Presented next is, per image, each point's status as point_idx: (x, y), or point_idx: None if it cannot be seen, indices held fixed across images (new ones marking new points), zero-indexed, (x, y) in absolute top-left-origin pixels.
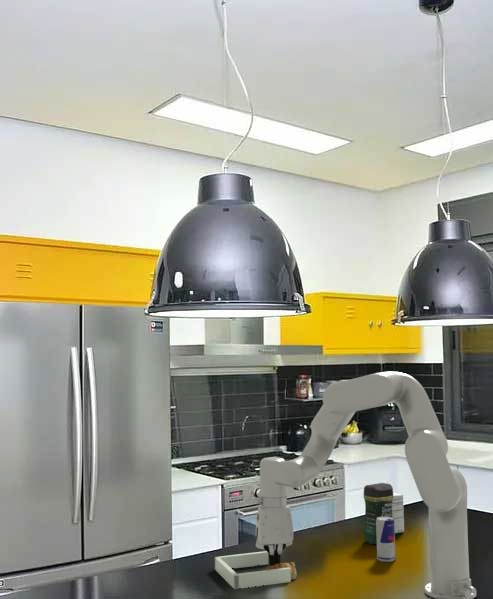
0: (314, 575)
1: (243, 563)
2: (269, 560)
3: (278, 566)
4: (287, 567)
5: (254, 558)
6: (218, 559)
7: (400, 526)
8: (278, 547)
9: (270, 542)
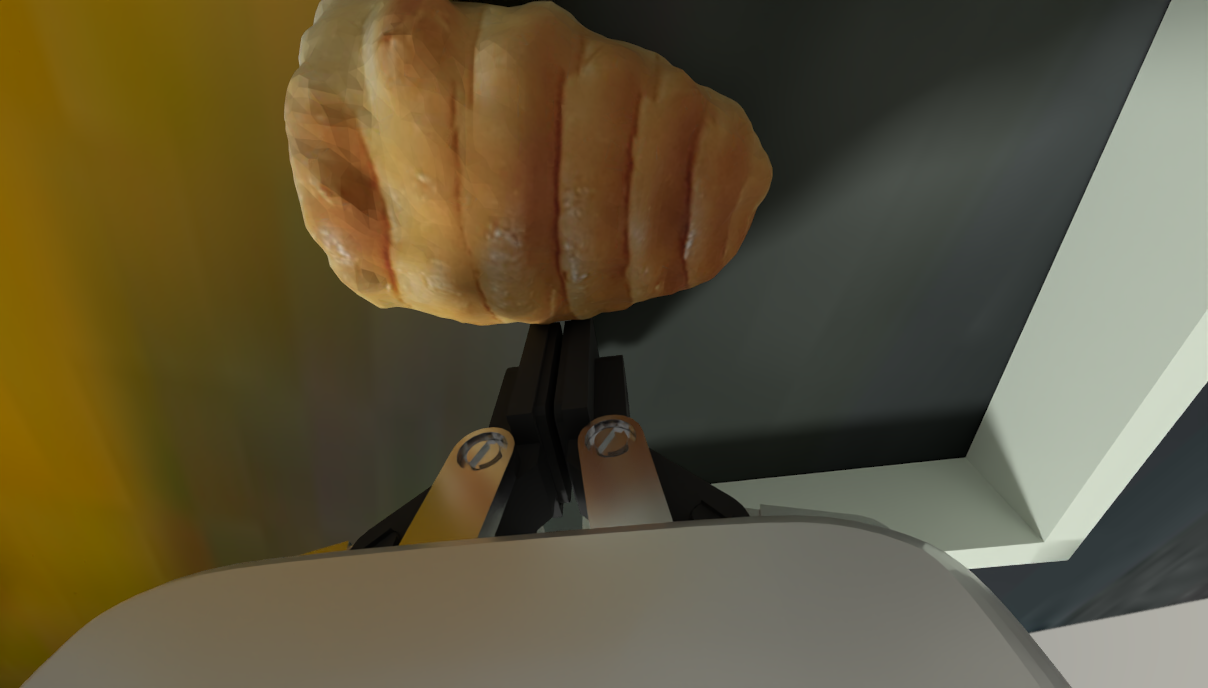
0: (140, 142)
1: (787, 500)
2: (627, 406)
3: (565, 145)
4: (418, 51)
5: None
6: (1095, 510)
7: None
8: (488, 512)
9: (696, 570)
